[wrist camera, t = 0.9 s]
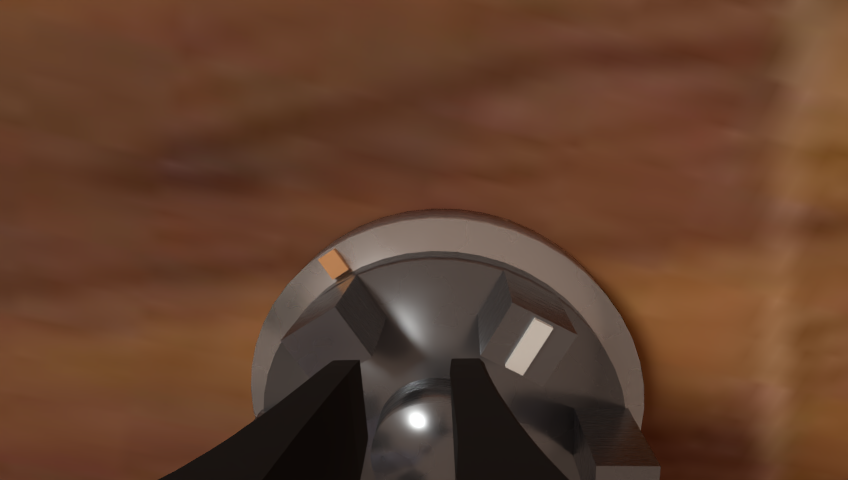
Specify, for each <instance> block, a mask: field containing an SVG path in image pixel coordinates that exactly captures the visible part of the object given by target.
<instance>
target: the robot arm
mask: <svg viewBox="0 0 848 480" xmlns="http://www.w3.org/2000/svg"><path fill="white" fill-rule="evenodd" d="M450 388H451V407H452V425H453V444H454V462H455V480H569V479H568V478H567V477H566V476H565V475H564V474H563V473H562V472H561V471H560V470H559V469H558V468H557V467H556V466H555V465H554V463H553V462H552V461H551V460H550V459H549V458H548V457H547V456H546V455H545V454H544V453H543V451H542V450H541V449H540V448H539V447H538V446H537V444H536V443H535V442H534V441H533V440H532V438H531V437H530V436H529V435H528V433H527V432H526V431H525V430H524V428H523V427H522V426H521V424H520V423H519V422H518V420H517V419H516V418H515V416H514V415H513V413H512V412H511V410H510V409H509V407H508V406H507V404H506V403H505V401H504V400H503V398H502V397H501V395H500V394H499V392H498V390H497V389H496V387H495V385H494V383H493V381H492V380H491V378H490V376H489V374H488V371H487V369H486V366H485V363H484V362H483V361H482V360H481V359H480V358H456V359H451V365H450ZM367 443H368V429H367V420H366V411H365V402H364V393H363V384H362V375H361V366H360V360H333V361H332V362H330V363H329V364H327V365H326V366H325V367H323V368H322V369H321V370H319V371H318V372H317V373H316V374H314V375H313V376H312V377H311V378H309V379H308V380H307V381H306V382H304V383H303V384H302V385H301V386H299V387H298V388H297V389H295V390H294V391H293V392H292V393H290V394H289V395H288V396H287V397H285V398H284V399H283V400H281V401H280V402H279V403H278V404H276V405H275V406H274V407H272V408H271V409H270V410H268V411H267V412H265V413H264V414H263V415H261V416H260V417H258V418H257V419H256V420H254V421H253V422H251V423H250V424H249V425H247V426H246V427H244V428H243V429H242V430H240V431H239V432H237V433H236V434H235V435H233V436H232V437H230V438H229V439H227V440H226V441H224V442H223V443H221V444H219V445H218V446H216V447H215V448H213V449H211V450H210V451H208V452H207V453H205V454H203V455H202V456H200V457H198V458H196V459H195V460H193V461H191V462H190V463H188V464H186V465H185V466H183V467H181V468H179V469H178V470H176V471H174V472H172V473H170V474H168V475H166V476H164V477H163V478H161V479H159V480H360V479H361V474H362V469H363V464H364V459H365V454H366V448H367Z"/></svg>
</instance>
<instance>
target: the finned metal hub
mask: <svg viewBox="0 0 848 480" xmlns="http://www.w3.org/2000/svg"><path fill="white" fill-rule="evenodd" d="M280 341H281V344H280V346H279V347H278V349H277V351H276V353H275V355H274V358H273V361H272V364H271V366H270V369H269V372H268V376H267V381H266V386H265V391H264V409H263V410H261V411H260V412H259V414H258V415H257V417H256V418H255V420H256V419H257V418H258V417H260V416H261V415H263V414H264V413H265V412H267V411H268V410H270V409H271V408H272V407H274V406H275V405H276V404H278V403H279V402H280V401H281V400H283V399H284V398H285V397H287V396H288V395H289V394H290V393H292V392H293V391H294V390H295V389H297V388H298V387H299V386H301V385H302V384H303V383H304V382H306V381H307V380H308V379H309V378H311V377H312V376H313V375H314V374H316V373H317V372H318V371H319V370H321V369H322V368H323V367H325V366H326V365H327V364H329V363H330V362H332V361H333V360H360V366H361V375H362V384H363V393H364V402H365V411H366V420H367V429H368V443H367V448H366V454H365V459H364V464H363V469H362V474H361V479H360V480H455V462H454V444H453V425H452V407H451V388H450V365H451V359H456V358H480V359H481V360H482V361H483V362H484V363H485V366H486V369H487V371H488V374H489V376H490V378H491V380H492V381H493V383H494V385H495V387H496V389H497V390H498V392H499V394H500V395H501V397H502V398H503V400H504V401H505V403H506V404H507V406H508V407H509V409H510V410H511V412H512V413H513V415H514V416H515V418H516V419H517V420H518V422H519V423H520V424H521V426H522V427H523V428H524V430H525V431H526V432H527V433H528V435H529V436H530V437H531V438H532V440H533V441H534V442H535V443H536V444H537V446H538V447H539V448H540V449H541V450H542V451H543V453H544V454H545V455H546V456H547V457H548V458H549V459H550V460H551V461H552V462H553V463H554V465H555V466H556V467H557V468H558V469H559V470H560V471H561V472H562V473H563V474H564V475H565V476H566V477H567V478H568V479H569V480H660V468H661V466H660V464H659V462H658V461H657V459H656V457H655V455H654V454H653V452H652V450H651V448H650V446H649V445H648V443H647V441H646V439H645V437H644V436H643V434H642V432H641V430H640V429H639V427H638V425H637V423H636V421H635V420H634V418H633V416H632V414H631V412H630V411H629V409H628V408H626V407H625V402H624V396H623V391H622V387H621V385H620V382H619V379H618V376H617V373H616V370H615V368H614V366H613V364H612V362H611V360H610V358H609V356H608V354H607V352H606V351H605V349H604V347H603V345H602V344H601V342H600V340H599V339H598V337H597V335H596V334H595V332H594V331H593V330H592V328H591V327H590V325H589V324H588V323H587V321H586V320H585V319H584V317H583V316H582V315H581V314H580V313H579V312H578V311H577V310H576V308H575V307H574V306H573V305H572V304H571V303H570V302H569V301H568V300H567V299H566V298H564V297H563V296H562V295H561V294H559V293H558V292H557V291H556V290H554V289H553V288H552V287H550V286H549V285H548V284H546V283H545V282H543V281H541V280H539V279H538V278H536V277H534V276H533V275H531V274H529V273H528V272H526V271H523V270H521V269H519V268H516V267H514V266H512V265H509V264H507V263H505V262H501V261H498V260H494V259H491V258H487V257H484V256H480V255H474V254H467V253H461V252H449V251H426V252H416V253H406V254H402V255H397V256H393V257H389V258H384V259H381V260H379V261H376V262H373V263H371V264H368V265H365V266H363V267H360V268H358V269H357V270H355V271H353V272H351V273H349V274H347V275H345V276H343V277H342V278H340V279H339V280H337V281H336V282H335V283H333V284H332V285H331V286H329V287H328V288H326V289H325V290H324V291H323V292H322V293H321V294H320V295H319V296H318V297H316V298H315V299H314V300H313V301H312V302H311V303H310V304H309V305H308V307H307V308H306V309H305V310H304V312H303V313H302V314H301V315H300V316H299V318H298V319H297V320H296V322H295V323H294V324H293V325H292V326H291V328H290V329H289V330H288V331H287V333H286V334H285V335H284V336H283V338H282V339H281V340H280Z"/></svg>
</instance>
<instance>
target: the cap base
mask: <svg viewBox="0 0 848 480" xmlns="http://www.w3.org/2000/svg"><path fill="white" fill-rule="evenodd" d="M426 251H449V252H461V253H467V254H474V255H480V256H484V257H487V258H491V259H494V260H498V261H501V262H505V263H507V264H509V265H512V266H514V267H516V268H519V269H521V270H523V271H526V272H528V273H529V274H531V275H533V276H534V277H536V278H538V279H539V280H541V281H543V282H545V283H546V284H548V285H549V286H550V287H552V288H553V289H554V290H556V291H557V292H558V293H559V294H561V295H562V296H563V297H564V298H566V299H567V300H568V301H569V302H570V303H571V304H572V305H573V306H574V307H575V308H576V310H577V311H578V312H579V313H580V314H581V315H582V316H583V317H584V319H585V320H586V321H587V323H588V324H589V325H590V327H591V328H592V330H593V331H594V332H595V334H596V335H597V337H598V339H599V340H600V342H601V344H602V345H603V347H604V349H605V351H606V352H607V354H608V356H609V358H610V360H611V362H612V364H613V366H614V368H615V370H616V373H617V376H618V379H619V382H620V385H621V387H622V391H623V396H624V402H625V407H626V408H628V409H629V411H630V412H631V414H632V416H633V418H634V420H635V421H636V423H637V425H638V427H639V429H640V430H641V425H642V419H643V412H644V383H643V377H642V371H641V365H640V360H639V357H638V354H637V351H636V348H635V345H634V342H633V339H632V337H631V335H630V333H629V331H628V329H627V327H626V325H625V323H624V321H623V319H622V317H621V315H620V314H619V312H618V311H617V310H616V308H615V307H614V305H613V304H612V302H611V301H610V300H609V298H608V297H607V295H606V294H605V293H604V292H603V290H602V289H601V288H600V286H599V285H598V284H597V283H596V281H595V280H594V279H593V278H592V276H591V275H590V274H589V273H588V272H587V271H586V270H585V269H584V268H583V267H582V266H581V265H580V264H579V263H578V262H577V261H576V260H575V259H574V258H573V257H572V256H571V255H569V254H568V253H567V252H566V251H564V250H563V249H562V248H561V247H559V246H558V245H557V244H555V243H554V242H552V241H550V240H549V239H547V238H545V237H544V236H542V235H540V234H539V233H537V232H535V231H534V230H531V229H529V228H527V227H524V226H522V225H520V224H517V223H515V222H513V221H511V220H507V219H504V218H500V217H497V216H493V215H490V214H486V213H481V212H474V211H468V210H461V209H425V210H416V211H407V212H403V213H399V214H395V215H391V216H387V217H383V218H380V219H377V220H375V221H372V222H370V223H367V224H365V225H362V226H360V227H358V228H356V229H354V230H352V231H351V232H349V233H347V234H345V235H343V236H342V237H340V238H338V239H337V240H336V241H334V242H333V243H332V244H330V245H329V246H328V247H326V248H325V249H324V250H322V251H321V252H320V253H319V254H318V255H317V256H316V257H315V258H314V259H313V260H312V261H311V262H310V263H309V264H308V265H307V266H306V267H305V268H304V269H303V270H302V271H301V272H300V273H299V274H298V275H297V276H296V277H295V278H294V279H293V280H292V281H291V282H290V283H289V284H288V285H287V286H286V288H285V289H284V290H283V292H282V293H281V294H280V296H279V297H278V299H277V300H276V301H275V303H274V304H273V306H272V308H271V310H270V312H269V314H268V316H267V318H266V320H265V321H264V323H263V326H262V329H261V332H260V335H259V338H258V341H257V343H256V348H255V353H254V358H253V364H252V381H251V391H252V400H253V408H254V413H255V417H257V415H258V414H259V412H260V411H261V410H263V409H264V391H265V386H266V381H267V376H268V372H269V369H270V366H271V364H272V361H273V358H274V355H275V353H276V351H277V349H278V347H279V346H280V344H281V341H280V340H281V339H282V338H283V336H284V335H285V334H286V333H287V331H288V330H289V329H290V328H291V326H292V325H293V324H294V323H295V322H296V320H297V319H298V318H299V316H300V315H301V314H302V313H303V312H304V310H305V309H306V308H307V307H308V305H309V304H310V303H311V302H312V301H313V300H314V299H315V298H316V297H318V296H319V295H320V294H321V293H322V292H323V291H324V290H325V289H326V288H328V287H329V286H331V285H332V284H333V283H335V282H336V281H337V280H339V279H340V278H342V277H343V276H345V275H347V274H349V273H351V272H353V271H355V270H357V269H358V268H360V267H363V266H365V265H368V264H371V263H373V262H376V261H379V260H381V259H384V258H389V257H393V256H397V255H402V254H406V253H416V252H426Z"/></svg>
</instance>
